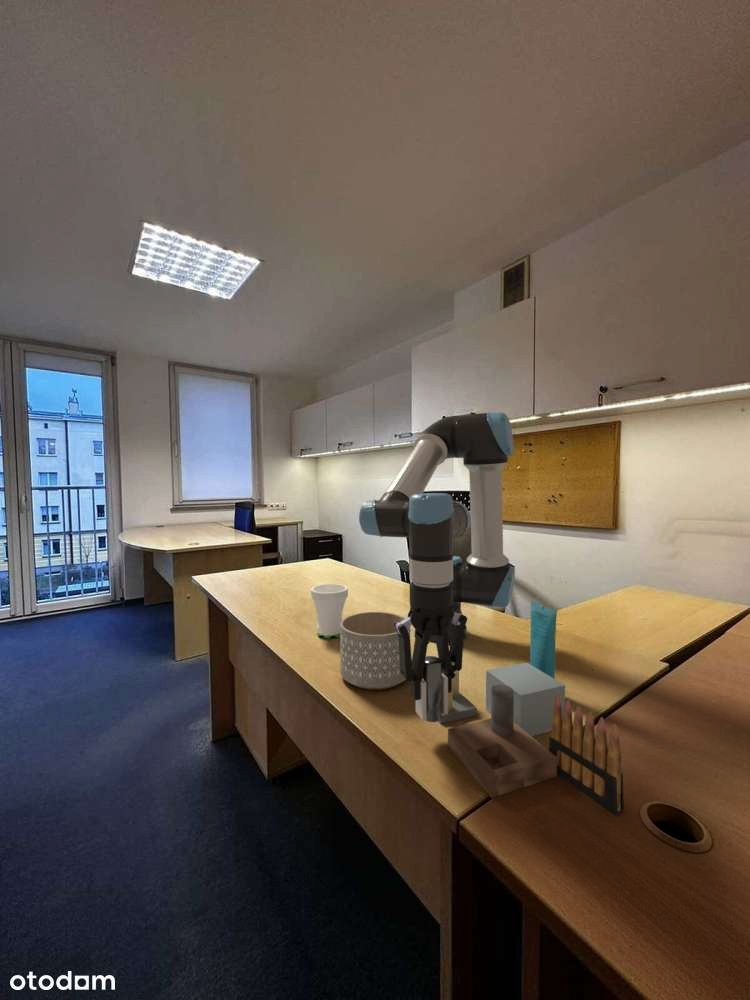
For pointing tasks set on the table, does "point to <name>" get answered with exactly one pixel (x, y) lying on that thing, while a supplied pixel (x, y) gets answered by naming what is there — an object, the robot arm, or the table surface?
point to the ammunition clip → (588, 756)
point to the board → (458, 704)
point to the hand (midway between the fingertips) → (431, 712)
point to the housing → (528, 695)
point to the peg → (433, 688)
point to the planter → (370, 650)
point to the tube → (543, 638)
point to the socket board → (501, 749)
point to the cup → (329, 607)
